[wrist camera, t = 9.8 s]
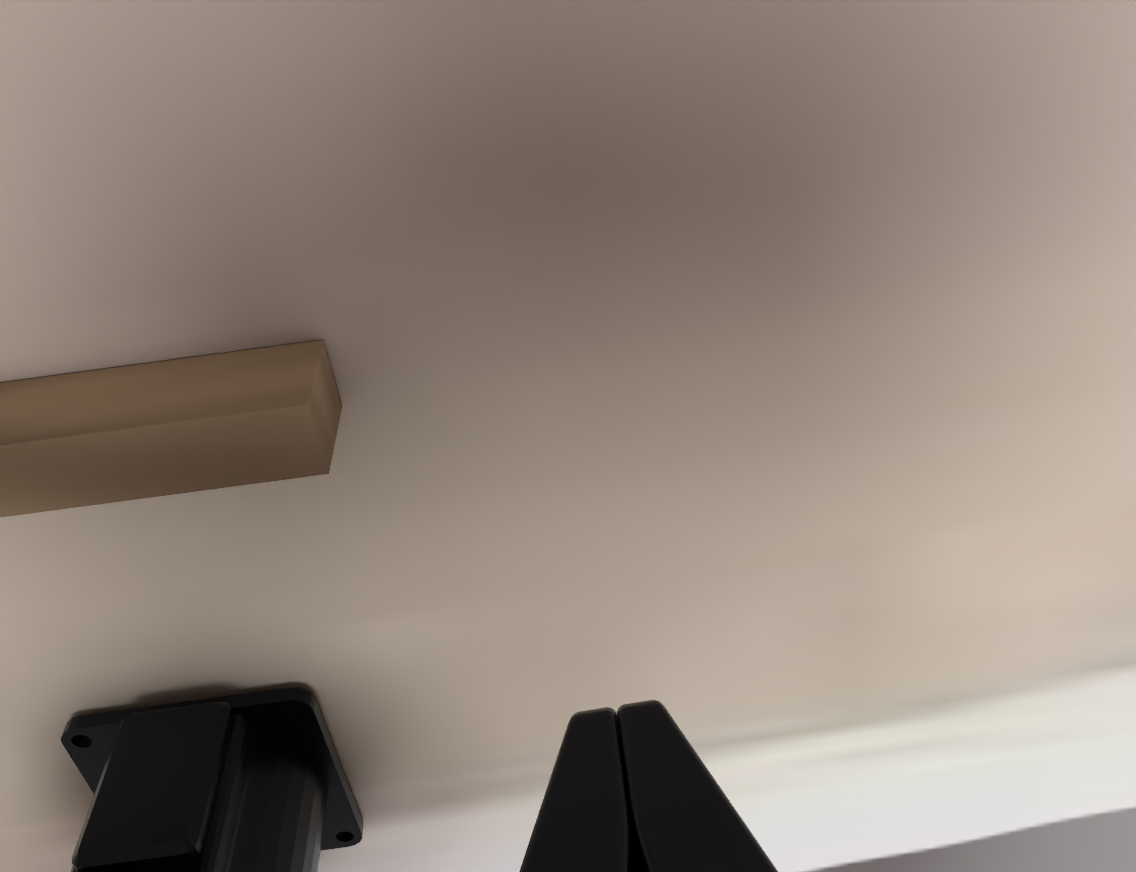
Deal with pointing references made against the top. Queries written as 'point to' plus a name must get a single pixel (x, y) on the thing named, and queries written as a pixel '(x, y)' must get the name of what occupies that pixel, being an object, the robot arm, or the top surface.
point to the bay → (167, 428)
